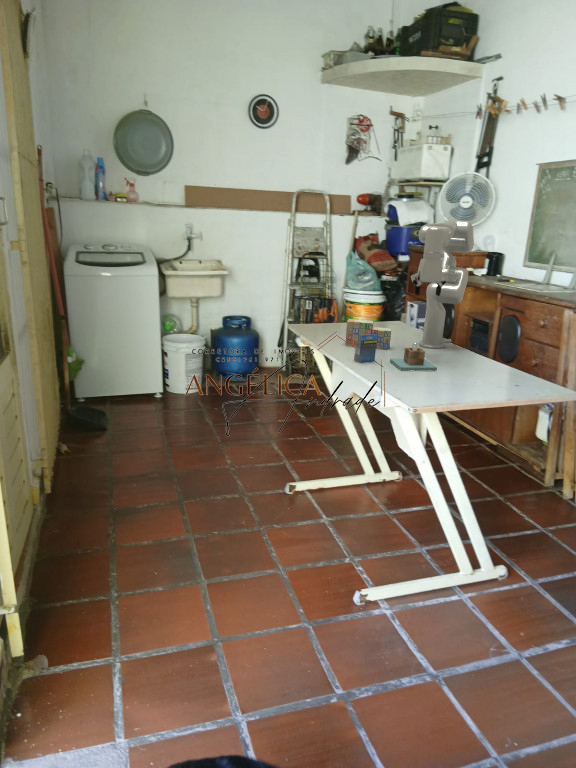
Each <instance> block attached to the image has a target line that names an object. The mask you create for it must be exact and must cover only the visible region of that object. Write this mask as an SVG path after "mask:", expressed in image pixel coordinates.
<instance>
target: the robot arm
mask: <svg viewBox="0 0 576 768" xmlns="http://www.w3.org/2000/svg"><path fill="white" fill-rule="evenodd" d="M474 238H475V237H474V228H473V225H472V223H471V222H470V221H469V220H457V219H449V220H446V221H444V222H443V221H442V222H436V223H428V224H427V223H426V224H424V225H422V226H421V227H420V229H419V232H418V239H419V242H420V243H422V244H424V247H423V257H422V258H421V259H420V261H419V265H418V270H417V272H416V273H414V274H412V275H410V279H411V282H412V284H414V294H415V295H416V296H420V292H421V285H422V283H429V284H428V285H427V286H426V287H427V288H426V307H425V308H426V309H425V315H424V316H425V317H424V325H423V332H422V340H421V341H419V342H418V346H420V347H422V348H426V349H435V350H436V349H437V350H438V349H443V348H445V344H451V343H452V339H451V338H448V339H447V338H445V337H444V330H445V329H444V328H445V321H446V314H447V313H446V312H447V311H446V309H445V307H444V305H443V304H448V305H449V304H451V305H458V304H461V302H462V300H463V299H464V295H465V292H466V288H467V284H468V281H469V271H468V270H467V269H466V268H465V267H464V268H463V267H459V266H458V267H457V260H456V258H455V256H453V254H452V253H461V254H462V253H464V254H468V253H470V252H472V251H473V249H474V244H475V240H474Z"/></svg>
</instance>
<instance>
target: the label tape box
mask: <svg viewBox="0 0 576 768" xmlns="http://www.w3.org/2000/svg"><path fill="white" fill-rule="evenodd" d="M367 337H372V338H370V339H367ZM376 345H377V334H370V335H361V341H358V342H356V346H354V349H355V350H354V358H353V360H354V362H357V363H364V362H372V361H375V360H376V359H375V358H376V351H377V348H376Z"/></svg>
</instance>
